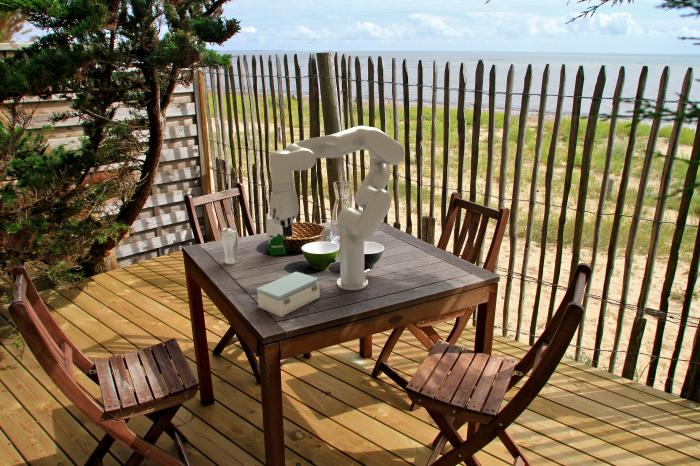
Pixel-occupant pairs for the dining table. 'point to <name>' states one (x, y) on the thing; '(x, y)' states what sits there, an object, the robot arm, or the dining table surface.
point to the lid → (287, 285)
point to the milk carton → (275, 237)
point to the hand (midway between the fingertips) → (287, 235)
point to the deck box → (289, 300)
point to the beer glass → (230, 245)
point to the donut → (325, 233)
